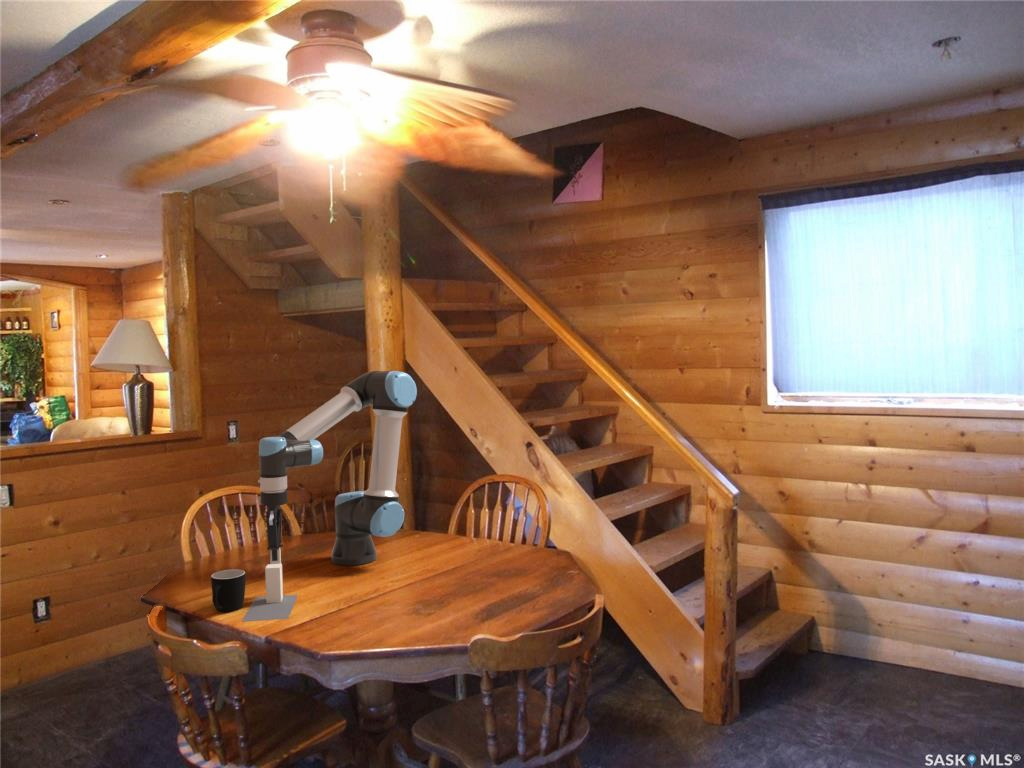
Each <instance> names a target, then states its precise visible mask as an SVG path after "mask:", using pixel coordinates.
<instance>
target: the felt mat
mask: <svg viewBox="0 0 1024 768" xmlns="http://www.w3.org/2000/svg"><path fill="white" fill-rule="evenodd" d="M298 596H299V594H289V595H287V594H285V595H284V594H283V599H282V601H281V602H276V603H266V596H256V597H254V600H253V601H252V603H251V604H250V606H249V608H248V610H247V612H246V613H245V615H244V616H243V619H242V620H241V622H243V623H244V622H257V621H272V620H273V621H274V620H288V619H289V618H290V615H291V614H292V610H293V609H294V606H295V603H296V601H297V599H298Z"/></svg>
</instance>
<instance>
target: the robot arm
mask: <svg viewBox="0 0 1024 768" xmlns="http://www.w3.org/2000/svg"><path fill="white" fill-rule="evenodd" d="M417 395H418V388H417V385H416V382H415V380H414V379H413V378H412V376H411V375H409V374H408V373H406V372H404V371H398V370H392V371H391V370H372V371H368V372H365V373H364V374H362V375H359V376H358V377H357V378H355V379H353V380H351V381H350V382H349V383H347V384H345V385H344V386H343V387H341V389H340V392H339V393H338V394H337V395H335V396H334V397H332V398H330V399H329V400H328V401H326V402H325V403H324V404H322V405H320V406H319V407H317V409H315V410H314V411H312V412H311V413H309V414H307V416H305V417H303V418H302V419H301V420H299V421H298V422H296V423H295V424H293V425H291V427H289V428H288V429H286V430H285V431H283V432H282V433H281V434H278V435H277V436H269V437H267V436H266V437H263V438H261V439H260V440H259V445H258V457H259V458H258V459H259V460H258V461H259V465H258V466H259V479H258V480H257V483H258V484H259V485H260V486H259V488H260V489H259V490H260V491H261V492H260V493H259V495H260V496H259V497H260V505H261V506H264V507H268V509H267V511H266V514H265V515H266V516H265V517H266V519H265V523H266V528H267V530H266V531H267V541H268V547H267V548H266V549H267V551H269V557H270V558H269V560H270V564H282V559H281V557H282V556H281V548H284V544H282V542H283V541H282V526H283V525H282V522H283V521H282V519H283V518H282V517H283V509H282V508H281V506H283V505H286V504H287V503H288V491H287V489H288V470H287V469H291V468H298V467H307V466H309V467H310V466H314V465H318V464H320V463H321V462H322V460H323V458H324V448H323V445H322V443H321V442H320V441H319V440H317V438H318V437H320V436H321V435H322V434H324V433H325V432H327V431H329V429H331V428H332V427H334V426H335V425H337V423H339V422H341V421H342V420H343V419H345V418H346V417H347V416H349V415H350V414H352V413H353V412H359V411H361V410H362V409H364V408H366V407H369V406H372V407H371V408H372V409H371V410H372V412H373V413H374V414H375V425H374V436H373V444H372V445H373V446H372V453H371V454H372V455H371V465H370V466H371V467H370V474H369V482H368V488H367V489H366V490H359V491H350V492H344V493H340V494H337V496H336V497H335V499H334V500H335V501H334V509H335V510H334V514H335V515H334V517H335V541H334V544H333V548H332V551H331V554H330V556H331V557H330V558H331V560H330V561H331V562H332V563H333V564H335V565H339V566H357V565H358V566H359V565H360V566H361V565H365V564H369V563H372V562H374V561H376V560H377V558H378V557H377V549H376V546H375V544H374V541H373V538H372V535H373V536H375V537H384V538H388V537H391V536H393V535H395V534H396V533H397V532H398V531H399V530H400V529H401V527H402V525H403V523H404V520H405V510H404V508H403V506H402V505H401V504H400V503H399V501H400V494H399V493H398V492H397V491H396V486H397V485H396V483H397V476H398V473H397V472H398V465H399V464H398V463H399V454H400V446H401V445H400V444H401V436H402V427H403V426H402V425H403V419H404V417H405V416H406V415H407V414H408V412H409V411H408V410H409V407H410V406H412V405H413V404H414V403H415V401H416V398H417Z"/></svg>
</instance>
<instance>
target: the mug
mask: <svg viewBox="0 0 1024 768" xmlns="http://www.w3.org/2000/svg"><path fill="white" fill-rule="evenodd" d="M210 581H211V582H210V584H211V594H212V595H211V596H212V597H211V598H212V599H211V600H212V602H211V603H212V604H213V606H214V607H215V610H216V611H217V612H218V613H232V612H233V613H234V612H237V611H239V610H241V609H242V608H243V606H244V601H245V594H246V571H245V570H243V569H239V568H238V569H237V568H235V569H224V570H220V571H216V572H214V573H212V574H211V575H210Z"/></svg>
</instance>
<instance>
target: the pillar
mask: <svg viewBox="0 0 1024 768" xmlns="http://www.w3.org/2000/svg"><path fill="white" fill-rule="evenodd" d="M264 572H265V573H264V576H265V597H266V603H276V602H281V601H282V599H283V595H284V591H283V589H284V587H283V585H284V583H283V563H281V564H269V563H268V564H267V565H266V566H265V569H264Z"/></svg>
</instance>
